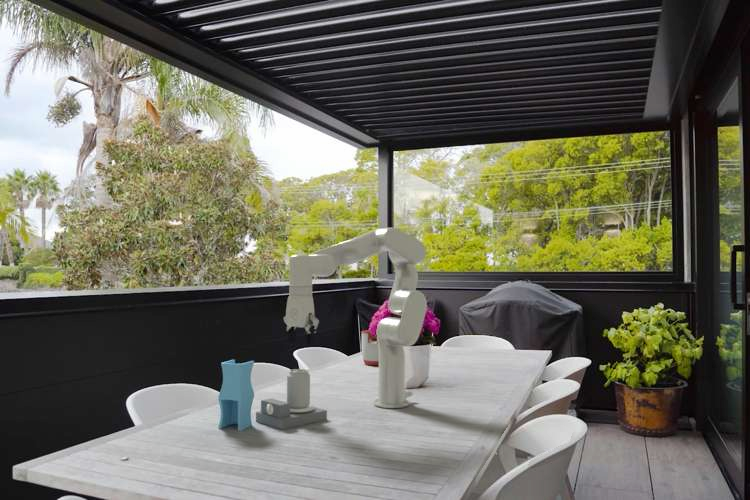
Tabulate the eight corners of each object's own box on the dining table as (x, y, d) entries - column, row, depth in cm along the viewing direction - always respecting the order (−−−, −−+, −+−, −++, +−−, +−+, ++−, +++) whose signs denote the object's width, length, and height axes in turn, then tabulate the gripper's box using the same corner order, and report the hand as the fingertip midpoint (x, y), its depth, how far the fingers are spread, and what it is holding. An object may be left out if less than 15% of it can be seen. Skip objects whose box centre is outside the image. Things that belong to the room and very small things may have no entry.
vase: (253, 424, 191) (254, 360, 192) (240, 430, 184) (241, 364, 184) (232, 422, 194) (232, 359, 194) (218, 428, 186) (218, 363, 187)
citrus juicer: (357, 366, 306) (357, 326, 306) (363, 361, 323) (364, 323, 323) (388, 367, 303) (388, 327, 304) (392, 362, 320) (393, 324, 321)
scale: (300, 412, 208) (300, 391, 208) (326, 419, 198) (327, 398, 198) (255, 421, 195) (256, 399, 195) (282, 429, 185) (282, 406, 186)
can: (305, 410, 194) (305, 372, 195) (283, 408, 196) (283, 371, 196) (312, 404, 202) (313, 368, 202) (291, 403, 203) (291, 367, 203)
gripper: (275, 291, 203) (275, 342, 203) (308, 293, 191) (308, 347, 191) (293, 291, 209) (293, 340, 208) (326, 292, 196) (326, 345, 196)
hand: (300, 344), depth 199 cm, fingers open, 9 cm apart
